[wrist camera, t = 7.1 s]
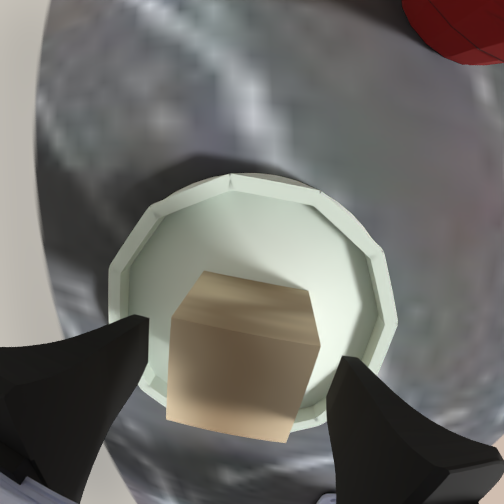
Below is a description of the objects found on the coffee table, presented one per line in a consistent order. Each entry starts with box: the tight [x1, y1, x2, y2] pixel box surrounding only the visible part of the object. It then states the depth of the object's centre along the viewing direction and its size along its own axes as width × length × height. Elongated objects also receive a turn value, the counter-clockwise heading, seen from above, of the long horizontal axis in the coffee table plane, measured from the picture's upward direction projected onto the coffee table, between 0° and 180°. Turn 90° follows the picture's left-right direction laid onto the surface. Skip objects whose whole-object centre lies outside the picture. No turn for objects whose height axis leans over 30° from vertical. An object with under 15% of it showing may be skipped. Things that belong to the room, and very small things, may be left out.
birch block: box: [166, 271, 321, 443], centre depth 12 cm, size 4×4×4 cm
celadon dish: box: [108, 173, 398, 432], centre depth 14 cm, size 13×13×2 cm
